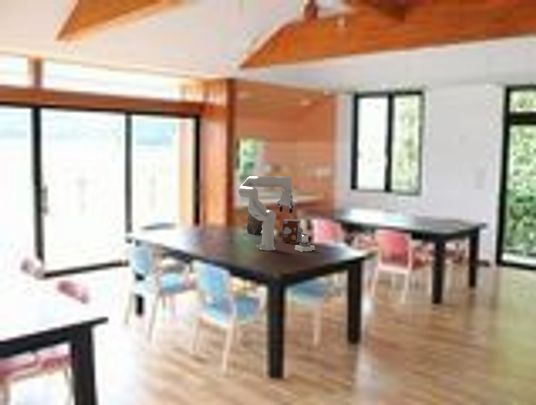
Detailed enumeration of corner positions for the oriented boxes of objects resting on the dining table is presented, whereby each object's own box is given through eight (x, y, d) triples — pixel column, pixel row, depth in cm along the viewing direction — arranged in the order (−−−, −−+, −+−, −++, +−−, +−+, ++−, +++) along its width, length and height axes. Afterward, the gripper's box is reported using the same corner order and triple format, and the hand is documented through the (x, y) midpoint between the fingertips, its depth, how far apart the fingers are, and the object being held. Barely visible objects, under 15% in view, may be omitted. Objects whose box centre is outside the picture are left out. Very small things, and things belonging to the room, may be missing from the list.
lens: (304, 246, 448) (304, 234, 447) (300, 245, 452) (300, 234, 451) (309, 245, 451) (309, 234, 450) (305, 245, 455) (305, 233, 454)
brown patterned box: (303, 244, 479) (304, 220, 477) (281, 242, 483) (281, 219, 481) (304, 242, 488) (305, 219, 486) (282, 240, 492) (283, 218, 490)
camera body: (301, 251, 444) (301, 244, 444) (294, 249, 452) (295, 243, 451) (314, 250, 451) (314, 243, 451) (307, 248, 459) (308, 241, 458)
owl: (245, 232, 529) (246, 211, 527) (256, 231, 537) (256, 211, 535) (253, 234, 519) (254, 213, 517) (264, 233, 527) (265, 212, 525)
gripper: (298, 192, 458) (297, 213, 460) (280, 190, 468) (279, 211, 470) (292, 192, 452) (292, 213, 454) (275, 191, 462) (274, 211, 464)
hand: (285, 212), depth 462 cm, fingers open, 9 cm apart
